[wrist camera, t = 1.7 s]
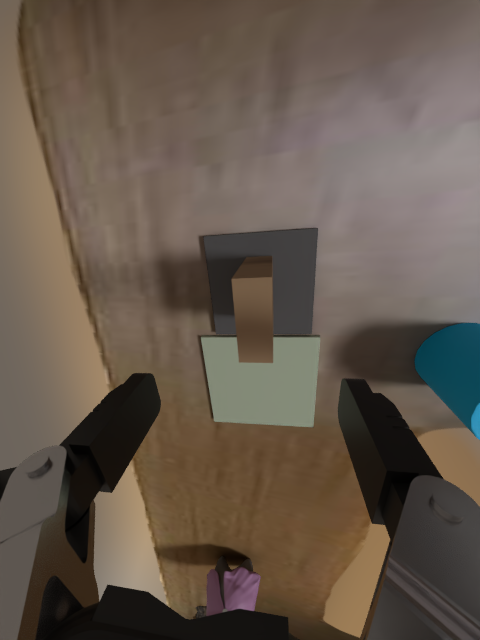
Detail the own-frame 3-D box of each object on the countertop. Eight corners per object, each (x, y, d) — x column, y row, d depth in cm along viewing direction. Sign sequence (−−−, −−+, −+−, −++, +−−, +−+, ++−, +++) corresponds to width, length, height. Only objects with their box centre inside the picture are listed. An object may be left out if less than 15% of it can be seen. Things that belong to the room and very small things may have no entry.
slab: (246, 257, 23) (231, 278, 15) (272, 255, 22) (271, 277, 14) (250, 316, 25) (238, 362, 17) (273, 316, 25) (273, 363, 17)
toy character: (258, 546, 47) (249, 749, 29) (265, 570, 51) (260, 762, 33) (203, 542, 50) (164, 727, 32) (214, 565, 54) (184, 741, 36)
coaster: (205, 235, 23) (203, 236, 23) (316, 227, 21) (317, 228, 21) (217, 331, 27) (216, 334, 27) (310, 331, 26) (311, 333, 25)
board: (202, 335, 28) (200, 337, 28) (319, 335, 26) (320, 337, 25) (215, 418, 34) (214, 421, 33) (312, 424, 31) (313, 427, 31)
